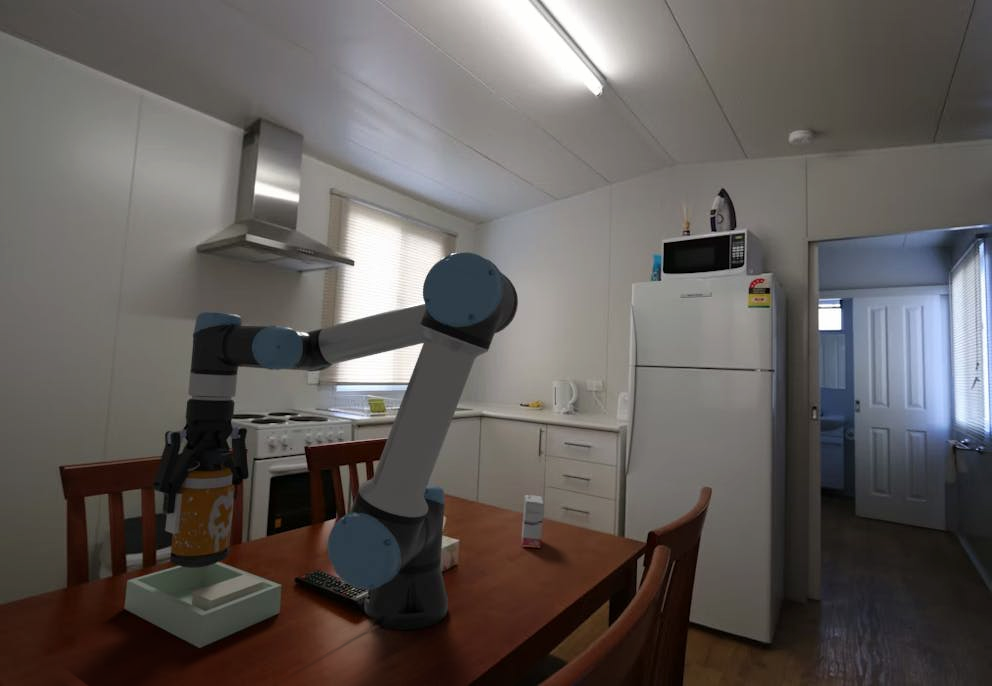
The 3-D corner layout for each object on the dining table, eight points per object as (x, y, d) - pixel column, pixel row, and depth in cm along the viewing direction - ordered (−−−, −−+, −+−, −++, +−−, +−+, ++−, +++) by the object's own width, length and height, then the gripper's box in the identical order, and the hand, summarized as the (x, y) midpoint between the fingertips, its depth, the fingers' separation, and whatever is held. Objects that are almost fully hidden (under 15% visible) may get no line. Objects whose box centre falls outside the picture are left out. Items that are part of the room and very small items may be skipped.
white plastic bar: (260, 615, 87) (262, 581, 88) (207, 637, 79) (211, 600, 80) (241, 607, 90) (244, 574, 90) (188, 627, 82) (191, 592, 82)
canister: (202, 573, 84) (213, 451, 85) (146, 565, 86) (158, 446, 88) (239, 555, 93) (249, 445, 94) (187, 548, 95) (198, 440, 96)
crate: (279, 617, 88) (281, 585, 89) (199, 653, 76) (202, 615, 77) (204, 586, 99) (207, 557, 99) (123, 613, 87) (127, 580, 87)
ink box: (541, 549, 132) (544, 502, 133) (522, 548, 132) (524, 501, 133) (539, 538, 140) (541, 495, 141) (521, 537, 140) (523, 494, 141)
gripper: (252, 396, 103) (241, 509, 101) (135, 397, 84) (120, 536, 83) (276, 399, 99) (266, 516, 98) (160, 400, 81) (145, 545, 79)
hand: (199, 525), depth 90 cm, fingers closed on canister, 9 cm apart
